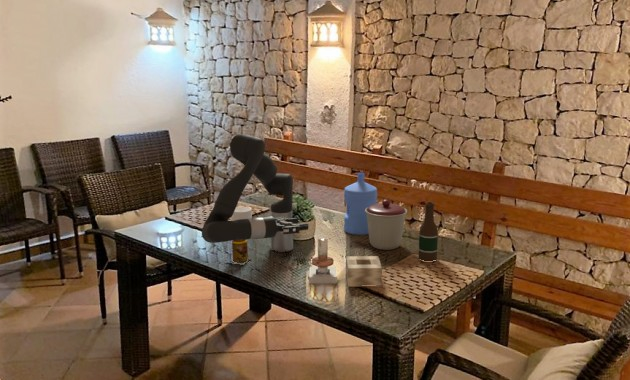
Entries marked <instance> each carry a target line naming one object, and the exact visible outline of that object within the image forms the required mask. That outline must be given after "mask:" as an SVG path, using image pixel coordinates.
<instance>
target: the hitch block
mask: <svg viewBox="0 0 630 380" xmlns="http://www.w3.org/2000/svg"><path fill="white" fill-rule="evenodd" d="M345 258H346V259H345V262H346V263H345V268H346V273H345V274H346V275H345V276H346V280H347V287H363V286H362V285H382V283H383V282H382V279H383V277H382V275H383V268H382V264H381V261H380V258H379V256H378V255H374V256H373V255H366V256H365V255H361V256H359V255H354V256H351V255H349V256H346V257H345ZM382 286H383V285H382Z"/></svg>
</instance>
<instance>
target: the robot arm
mask: <svg viewBox="0 0 630 380" xmlns="http://www.w3.org/2000/svg"><path fill="white" fill-rule="evenodd" d="M229 150H230V154H231V156H232V157H233V158H234V159H235V160H237V161H238V162H240V163H241V164H243V165H244V166H243V168H242V169H241V170H240V171H239V172H238V173H237V174H236V175H235V176H234V177H232V178H231V179H230V180H228V182H226V183H225V184H224V185H223V186H222V188H221V190H220V191H219V193H218V195H217V198H216V201H215V203H214V205H213V208H212V209H211V212H210V213H209V214H208V216H207V218H206V220H205V222H204V224H203V225H202V230H201V237H202V239H203V240H204V241H205V242H207V243H209V244H217V243H224V242H230V241H233V240H259V239H270V244H271V245H270V247H271V248H270V250H275V251H274V252H277V251H278V252H277V253H279V252H280V253H285V251H286V253H287V252H290V251H292V250H294V234H300V231H301V232H302V231H307V230H309V224H308V223H307V222H305V223H299V218H297V217H293V192H294V191H293V190H294V189H293V188H294V181H293V176H292V175H291V173H277V172H278V168H277V164H276V163H275V161H274V160H273V159H272V157H271V156H269V155H268V154H266V153H265V150H266V144H265V141H264V139H262V138H260V137H257V136H254V135H249V134H244V133H237V134H236V135H234V136H233V137H232V138H231V141H230V142H229ZM252 176H254V177H255V178H256V179H257V180H259V182H260V183H261V184H262V185H263V187H264V189H265V191H266V192H267V193H268V194H269V195H273V196H283V197H282V199H281V200H278V201H275V202H272V203H271V204H270V215H268V216H257V217H255V216H254V217H252V218H249V219H240V220H234V221H231V220H229V219H231V217H232V215H233V213H234V211H235V209H236V207H238V204H239V201H240V199H241V196H242V194H243V193H244V191H245V189H246V187H247V185H248V183H249V182H250V180H251V178H252Z"/></svg>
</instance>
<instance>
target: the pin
mask: <svg viewBox="0 0 630 380" xmlns="http://www.w3.org/2000/svg"><path fill="white" fill-rule="evenodd" d="M328 248H329V247H328V238H325V237H320V238H318V239H317V256H315V257H313V258H312V259H311V264H312V266H313V267H318V275H323V274H328V267H332V266H333V265H334V258H333V257H330V256H329V254H328V253H329V251H328V250H329V249H328Z"/></svg>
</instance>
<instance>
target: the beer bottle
mask: <svg viewBox="0 0 630 380" xmlns="http://www.w3.org/2000/svg"><path fill="white" fill-rule="evenodd" d="M424 206H425V212H424V219H423V222H422V223H421V225H420V228H419V233H418V234H419V235H418V260H419V259H421V260H424V261H433V260H436V261H437V260H438V259H437V258H438V242H439V239H438V238H439V231H438V227H437V225H436V223H435V218H434V215H435V214H434V208H435V203H434V202H432V201H429V202H428V201H427V202H425V205H424Z"/></svg>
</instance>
